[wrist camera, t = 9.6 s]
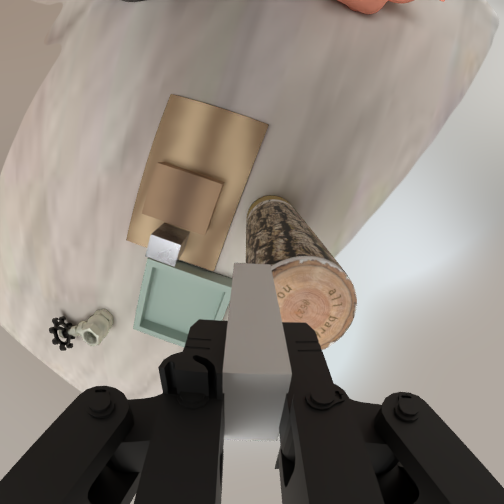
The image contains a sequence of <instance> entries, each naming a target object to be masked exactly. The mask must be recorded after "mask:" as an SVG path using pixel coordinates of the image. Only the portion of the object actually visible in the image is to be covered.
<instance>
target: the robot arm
mask: <svg viewBox="0 0 504 504" xmlns="http://www.w3.org/2000/svg"><path fill="white" fill-rule="evenodd" d="M123 1H129V2H135V1H143V0H123ZM158 368H159V373H160V379H161V384H162V389H163V393H162V394H160V395H158V396H155V397H151V398H145V399H132V400H127V398H126V397H125V395H124V393H122V392H121V391H119V390H118V389H116V388H113V387H109V386H96V387H93V388H90V389H87V390H85V391H84V392H83V393H81V394H80V395H79V396H78V397H77V398H76V399H75V400H74V401H73V402H72V403H71V404H70V405H69V406H68V407H67V408H66V410H65V411H64V412H63V413H62V414H61V415H60V416H59V417H58V418H57V419H56V420H55V421H54V422H53V423H52V425H51V426H50V427H49V428H48V429H47V430H46V431H45V432H44V433H43V434H42V435H41V437H40V438H39V439H38V440H37V441H36V442H35V443H34V444H33V445H32V446H31V447H30V448H29V450H28V451H27V452H26V453H25V454H24V455H23V456H22V457H21V459H20V460H19V461H18V462H17V463H16V464H15V465H14V466H13V467H12V469H11V470H10V471H9V472H8V473H7V474H6V475H5V476H4V478H3V479H2V480H1V481H0V504H130V502H131V501H132V499H133V497H134V496H135V494H136V497H135V501H134V504H221V493H222V492H221V491H222V473H223V443H224V440H248V441H251V440H252V441H277V440H278V436H279V434H280V443H281V446H280V450H279V454H278V458H277V461H276V465H275V469H279V470H280V481H281V493H282V503H283V504H504V488H503V487H502V486H501V485H500V483H499V482H498V481H497V480H496V479H495V478H494V477H493V476H492V474H491V473H490V472H489V471H488V470H487V469H486V468H485V466H484V465H483V464H482V463H481V462H480V461H479V460H478V459H477V458H476V457H475V455H474V454H473V453H472V452H471V451H470V450H469V449H468V448H467V446H466V445H465V444H464V443H463V442H462V441H461V440H460V439H459V438H458V436H457V435H456V434H455V433H454V432H453V431H452V430H451V429H450V428H449V427H448V426H447V425H446V423H445V422H444V421H443V420H442V419H441V418H440V417H439V416H438V415H437V414H436V413H435V412H434V410H433V409H432V408H431V407H430V406H429V405H428V404H427V403H426V402H425V401H424V400H423V399H421V398H420V397H419V396H416V395H414V394H411V393H406V392H398V393H393V394H391V395H389V396H388V397H386V398H385V400H384V402H383V403H382V405H379V404H370V403H363V402H358V401H354V400H351V399H349V397H348V396H347V394H346V393H345V391H344V390H343V389H341V388H340V387H339V386H337V385H335V384H334V383H333V381H332V378H331V375H330V372H329V369H328V366H327V363H326V360H325V358H324V355H323V352H322V349H321V346H320V343H319V340H318V338H317V335H316V332H315V331H314V330H313V329H312V328H311V327H310V326H309V325H308V324H307V323H301V322H282V319H281V314H280V309H279V304H278V299H277V294H276V289H275V284H274V279H273V275H272V270H271V265H269V264H249V263H234V270H233V279H232V287H231V296H230V306H229V315H228V321H219V320H204V319H199V320H198V321H196V322H195V323H194V324H193V325H192V326H191V327H190V330H189V333H188V336H187V340H186V343H185V348H184V350H183V352H180V353H176V354H173V355H171V356H169V357H168V358H166V359H164V360H163V362H162V363H161V364H160V366H159V367H158ZM136 492H137V493H136Z"/></svg>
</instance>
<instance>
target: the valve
mask: <svg viewBox="0 0 504 504" xmlns="http://www.w3.org/2000/svg"><path fill="white" fill-rule="evenodd" d="M57 320H59V321H60V322H58V321H57ZM64 320H66V318H65V317H64V316H62V317H60V318H59V319H58V318H53V319H52V322H53V324H54V327H50V328H49V332H50V333H53V334H54V337H55V338H54V339H53V340H52V343H53V344H54V345H56V344H60V347H59V348H60V350H61V351H64V350H66V348H65V345H66V347H67V348H72V347H73V344H72V343H70V340H71V339H75V337H76V336H79V335H80V336H81V337H82V339H83V340H84V341H85V342H86V343H87V344H88V345H90V346H97V345H99V344H100V343H101V341H102V340H103V338H105V337H106V336H107V334H108V332H109V329H110V328H111V327H112V325H113V316H112V315H111V314H110V313H109V312H108V311H107V310H106V309H102V310H98V311H96V312H95V314H94V315H93V316H91V317H90V318H89V319H88V321H82V322H80V323H79V324H78V326H72V324H71V323H67V324H66V323H64ZM59 325H62V326H64V328H63V327H60V326H59ZM57 330H59V335H60V337H62V338H67V339H66V341H65V342H62V341H61V340H60V339H59V337H58V334H57Z"/></svg>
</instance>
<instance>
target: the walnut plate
mask: <svg viewBox="0 0 504 504" xmlns="http://www.w3.org/2000/svg"><path fill="white" fill-rule="evenodd" d="M223 185H224V182H222V181H220V180H217V179H214V178H211V177H208V176H205V175H202V174H199V173H196V172H193V171H190V170H187V169H184V168H181V167H178V166H175V165H172V164H168V163H165V162H157V163H156V165H155V168H154V172H153V175H152V178H151V182H150V185H149V189H148V192H147V196H146V199H145V203H144V207H143V210H142V214H144V215H147V216H150V217H153V218H156V219H159V220H161V221H164V222H167V223H170V224H173V225H176V226H178V227H181V228H184V229H187V230H190V231H193V232H196V233H198V234H201V235H204V236H205V234H206V232H207V230H208V228H209V225H210V222H211V219H212V216H213V213H214V210H215V208H216V205H217V202H218V199H219V196H220V194H221V191H222V188H223Z"/></svg>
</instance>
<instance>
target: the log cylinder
mask: <svg viewBox="0 0 504 504" xmlns="http://www.w3.org/2000/svg"><path fill="white" fill-rule="evenodd" d="M246 263H249V264H269V265H271V270H272V275H273V279H274V284H275V289H276V294H277V299H278V304H279V309H280V314H281V319H282V322H301V323H307V324H308V325H309V326H310V327H311V328H312V329H313V330H314V331H315V332H316V335H317V338H318V340H319V343H320V346H321V349H322V350H323V349H326V348H327V347H329V346H331V345H332V344H334V343H335V342H336V341H337V340H339V339H340V337H342V336H343V335H344V333H345V332H346V331H347V330H348V328H349V326H350V325H351V323H352V321H353V318H354V315H355V311H356V306H357V299H356V292H355V289H354V286H353V284H352V282H351V280H350V279H349V277H348V276H347V274H346V273H345V271H344V270H343V269H342V267H341V266H340V265H339V264H338V262H337V261H336V260H335V258H334V257H333V256H332V255H331V253H330V252H329V251H328V250H327V248H326V247H325V246H324V245H323V243H322V242H321V241H320V240H319V238H318V237H317V236H316V235H315V233H314V232H313V231H312V230H311V228H310V227H309V226H308V225H307V224H306V222H305V221H304V220H303V219H302V218H301V216H300V215H299V214H298V213H297V212H296V210H295V209H294V208H293V207H292V206H291V205H290V204H289V203H288V202H287V201H286V200H285V199H283V198H281V197H278V196H265V197H262V198H260V199H258V200H257V201H255V202H254V203H253V204H252V205H251V207H250V209H249V211H248V213H247V223H246Z"/></svg>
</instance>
